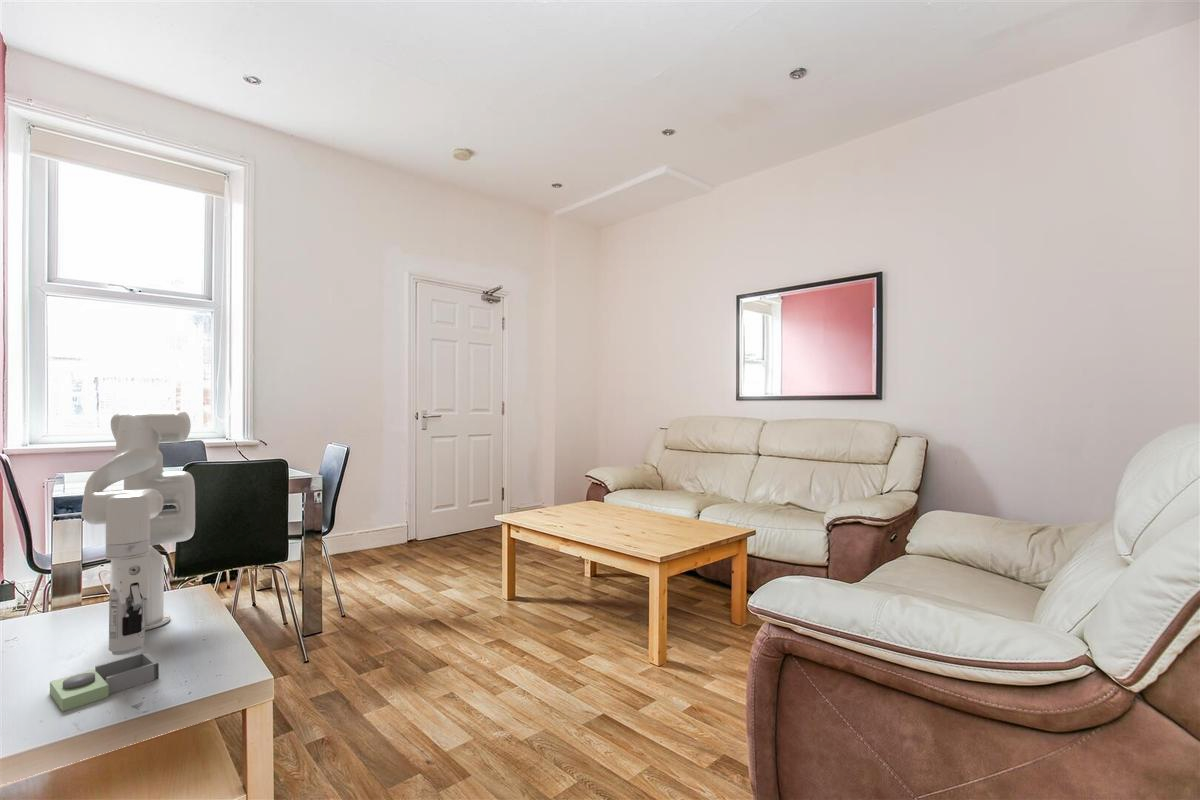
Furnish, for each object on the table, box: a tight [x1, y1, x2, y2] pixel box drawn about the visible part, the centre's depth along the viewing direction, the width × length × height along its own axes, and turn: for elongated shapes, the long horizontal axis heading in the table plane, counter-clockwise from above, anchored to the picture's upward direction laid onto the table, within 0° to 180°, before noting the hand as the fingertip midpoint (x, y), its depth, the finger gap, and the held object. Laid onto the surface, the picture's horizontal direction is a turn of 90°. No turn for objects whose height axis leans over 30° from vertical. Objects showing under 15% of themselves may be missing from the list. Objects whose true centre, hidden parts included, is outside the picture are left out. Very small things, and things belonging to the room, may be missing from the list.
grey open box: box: [49, 651, 160, 713], centre depth 119 cm, size 12×16×4 cm
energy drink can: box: [108, 585, 146, 656], centre depth 122 cm, size 6×6×15 cm
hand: (127, 629), depth 122 cm, fingers closed on energy drink can, 6 cm apart
